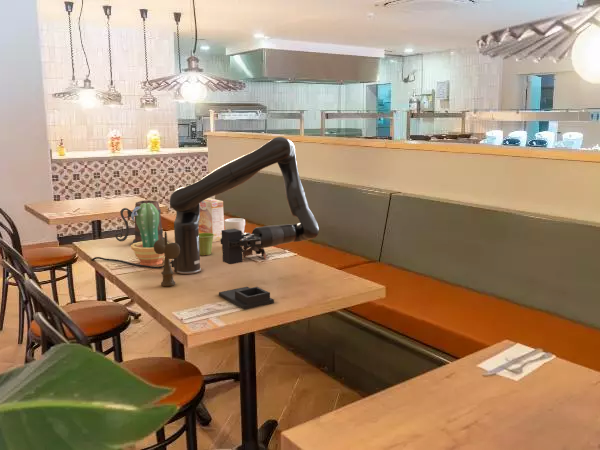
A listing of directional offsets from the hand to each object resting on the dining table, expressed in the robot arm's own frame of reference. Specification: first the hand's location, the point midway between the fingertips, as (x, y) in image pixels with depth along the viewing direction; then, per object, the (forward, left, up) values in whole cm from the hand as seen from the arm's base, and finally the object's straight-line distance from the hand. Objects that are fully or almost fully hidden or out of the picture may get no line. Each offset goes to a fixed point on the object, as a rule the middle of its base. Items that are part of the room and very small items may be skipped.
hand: (225, 243), depth 194 cm
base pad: (+8, -5, -18) cm, 20 cm away
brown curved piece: (-4, +50, -18) cm, 53 cm away
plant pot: (-28, +53, -18) cm, 63 cm away
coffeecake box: (-36, +84, -18) cm, 93 cm away
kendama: (-24, +6, -18) cm, 31 cm away
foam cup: (-18, +67, -18) cm, 72 cm away
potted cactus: (-44, +35, -18) cm, 59 cm away
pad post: (+2, +2, -7) cm, 7 cm away
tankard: (-64, +68, -18) cm, 95 cm away
